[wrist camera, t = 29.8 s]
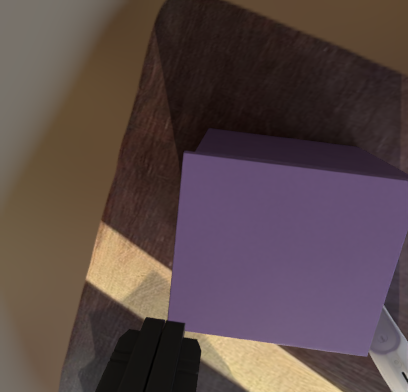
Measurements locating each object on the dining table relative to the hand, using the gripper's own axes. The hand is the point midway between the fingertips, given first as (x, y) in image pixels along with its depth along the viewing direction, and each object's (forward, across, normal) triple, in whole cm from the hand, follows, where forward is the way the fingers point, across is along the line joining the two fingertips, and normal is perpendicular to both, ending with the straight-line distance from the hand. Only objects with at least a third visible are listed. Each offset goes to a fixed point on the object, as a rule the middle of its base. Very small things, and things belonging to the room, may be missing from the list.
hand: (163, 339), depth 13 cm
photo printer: (+32, -24, +19) cm, 44 cm away
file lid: (+17, -7, +5) cm, 19 cm away
